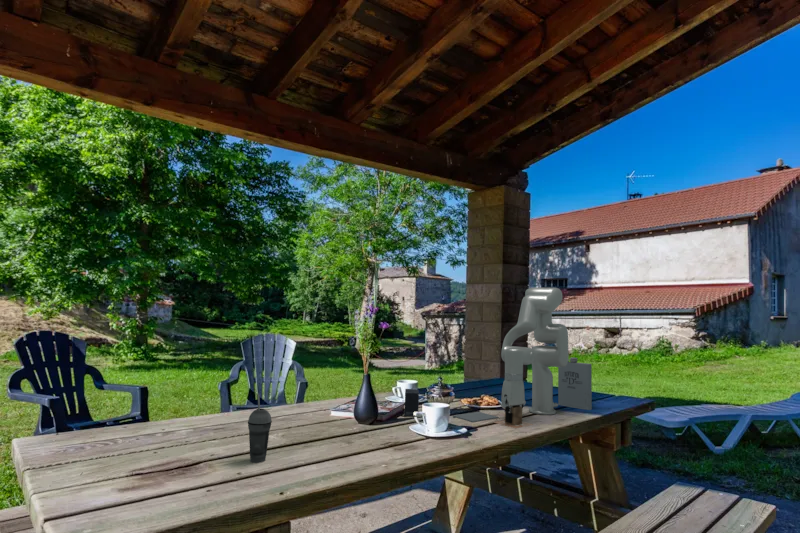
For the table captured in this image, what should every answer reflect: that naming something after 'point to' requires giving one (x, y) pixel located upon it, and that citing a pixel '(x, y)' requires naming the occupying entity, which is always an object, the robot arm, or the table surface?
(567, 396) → the flask
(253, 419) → the beverage cup
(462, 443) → the table surface
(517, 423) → the walnut block
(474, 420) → the slate board
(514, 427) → the tile
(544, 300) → the robot arm
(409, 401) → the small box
